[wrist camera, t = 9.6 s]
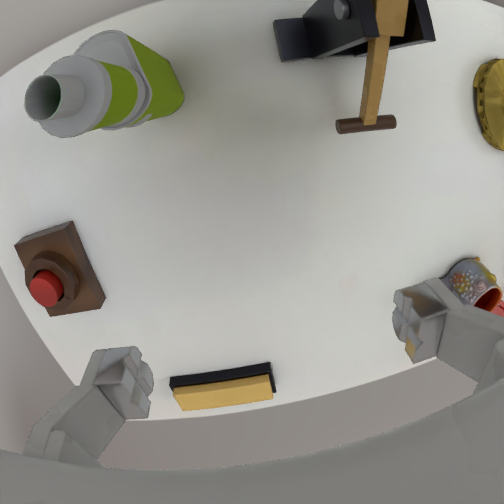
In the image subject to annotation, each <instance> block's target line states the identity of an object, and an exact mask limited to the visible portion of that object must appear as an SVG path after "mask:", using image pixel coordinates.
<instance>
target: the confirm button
mask: <svg viewBox="0 0 504 504" xmlns="http://www.w3.org/2000/svg"><path fill="white" fill-rule="evenodd" d="M30 292H31V294H32V296H33V298H34V299H35V300H36V301H37V302H38V303H39V304H41V305H43V306H45V307H52V306H54V305H55V304H56V303H57V301H58V300H59V298H60V297H61V295H62V293H63V285H62V282H61V280H60V279H59V277H58V276H57V275H55V274H54V273H53V272H51V271H49V270H42V271H40V272H39V273H38V274H37V275H36V276H35V277H34V278H33V280H32V281H31V283H30Z"/></svg>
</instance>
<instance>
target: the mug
mask: <svg viewBox="0 0 504 504" xmlns="http://www.w3.org/2000/svg"><path fill="white" fill-rule="evenodd" d="M441 281H442V282H443V283H444V284H445V285H446V287H447V288H448V289H449V290H450V291H451V292H452V293H453V294H454V295H455V296H456V297H457V298H458V299H459V300H460V301H461V303H462V304H463V305H466V304H469V305H472V306H474V307H477V308H480V309H483V310H486V311H488V312H492V311H493V310H494V309H495V307H496V306H497V305H498V304H499V302H500V301H501V299H502V296H503V292H502V290H501V288H500V287H499V286H498V285H497V284H496V276H495V275H494V274H492V273H491V272H490V271H489V270H488V269H487V268H486V267H485V266H484V265H483V264H482V263H481V262H480V259H479V258H478V257H476V258H475V259H466V260H463V261H461V262H459V263H458V264H457V265H455V266H454V267H453V268H452V270H451V271H450V272H449V273H448V275H447V276H446V277H445V278H443V279H441Z"/></svg>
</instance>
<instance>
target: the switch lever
mask: <svg viewBox="0 0 504 504" xmlns="http://www.w3.org/2000/svg"><path fill="white" fill-rule="evenodd" d="M372 4H373V8H374V12H375V16H376V20H377V25H378V29H379V34H380V37H379V38H376V39H373V40H370V41H368V51H367V60H366V69H365V77H364V85H363V93H362V100H361V107H360V114H359V117H356V118H347V119H338V120H336V130H337V132H338V134H348V133H356V132H365V131H374V130H384V129H394V128H396V118H395V117H394V115H379V116H377V115H378V109H379V104H380V99H381V93H382V88H383V82H384V76H385V70H386V63H387V57H388V50H389V43H390V36H402V37H403V36H404V31H405V24H406V16H407V9H408V0H372Z"/></svg>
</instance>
